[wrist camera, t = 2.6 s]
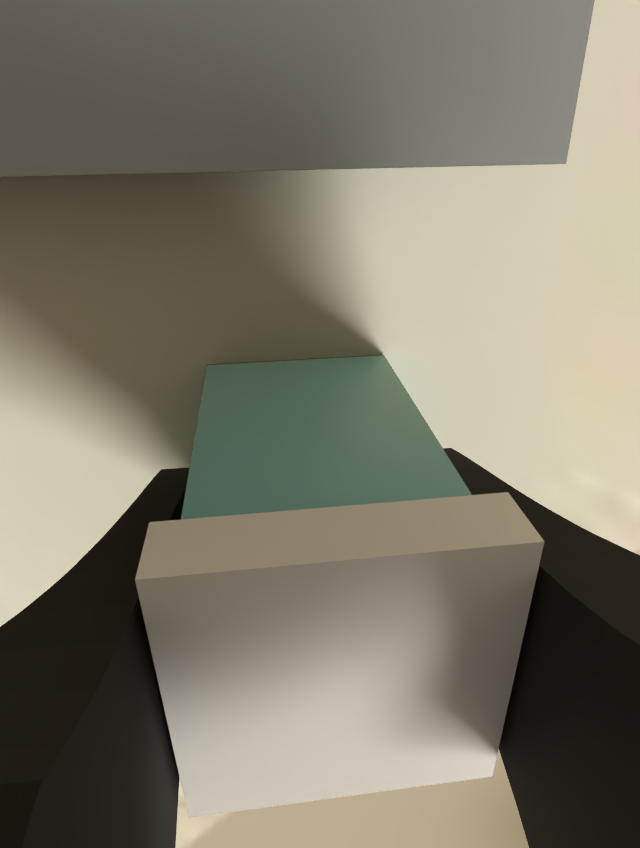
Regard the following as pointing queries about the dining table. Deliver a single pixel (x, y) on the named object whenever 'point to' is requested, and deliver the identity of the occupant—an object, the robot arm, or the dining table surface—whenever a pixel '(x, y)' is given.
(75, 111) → the socket plate
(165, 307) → the dining table surface
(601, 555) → the robot arm
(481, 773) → the plug
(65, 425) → the dining table surface
